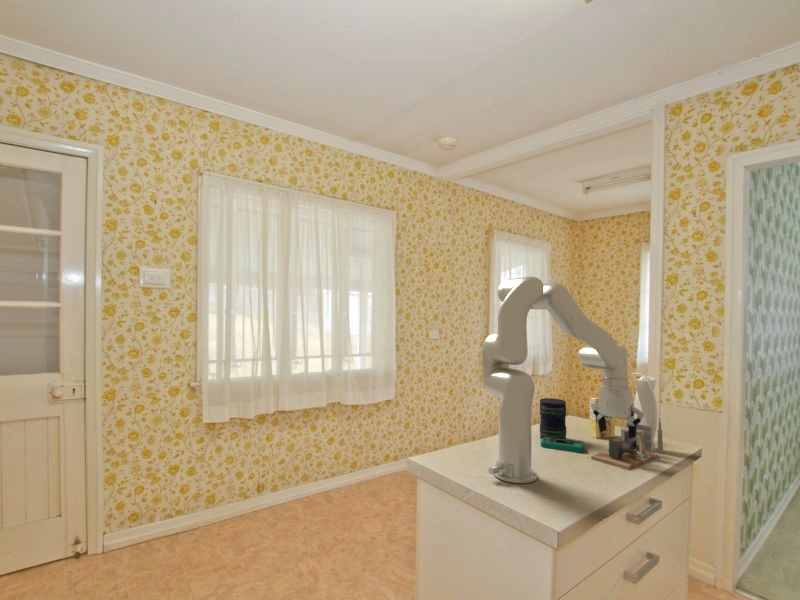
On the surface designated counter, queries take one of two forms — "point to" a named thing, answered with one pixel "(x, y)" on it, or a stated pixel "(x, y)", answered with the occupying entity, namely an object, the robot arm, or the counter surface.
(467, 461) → the counter surface
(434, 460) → the counter surface
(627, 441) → the plunger
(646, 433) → the base
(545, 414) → the storage jar
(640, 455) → the needle
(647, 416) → the skyscraper
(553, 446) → the digital multimeter
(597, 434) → the candy box
